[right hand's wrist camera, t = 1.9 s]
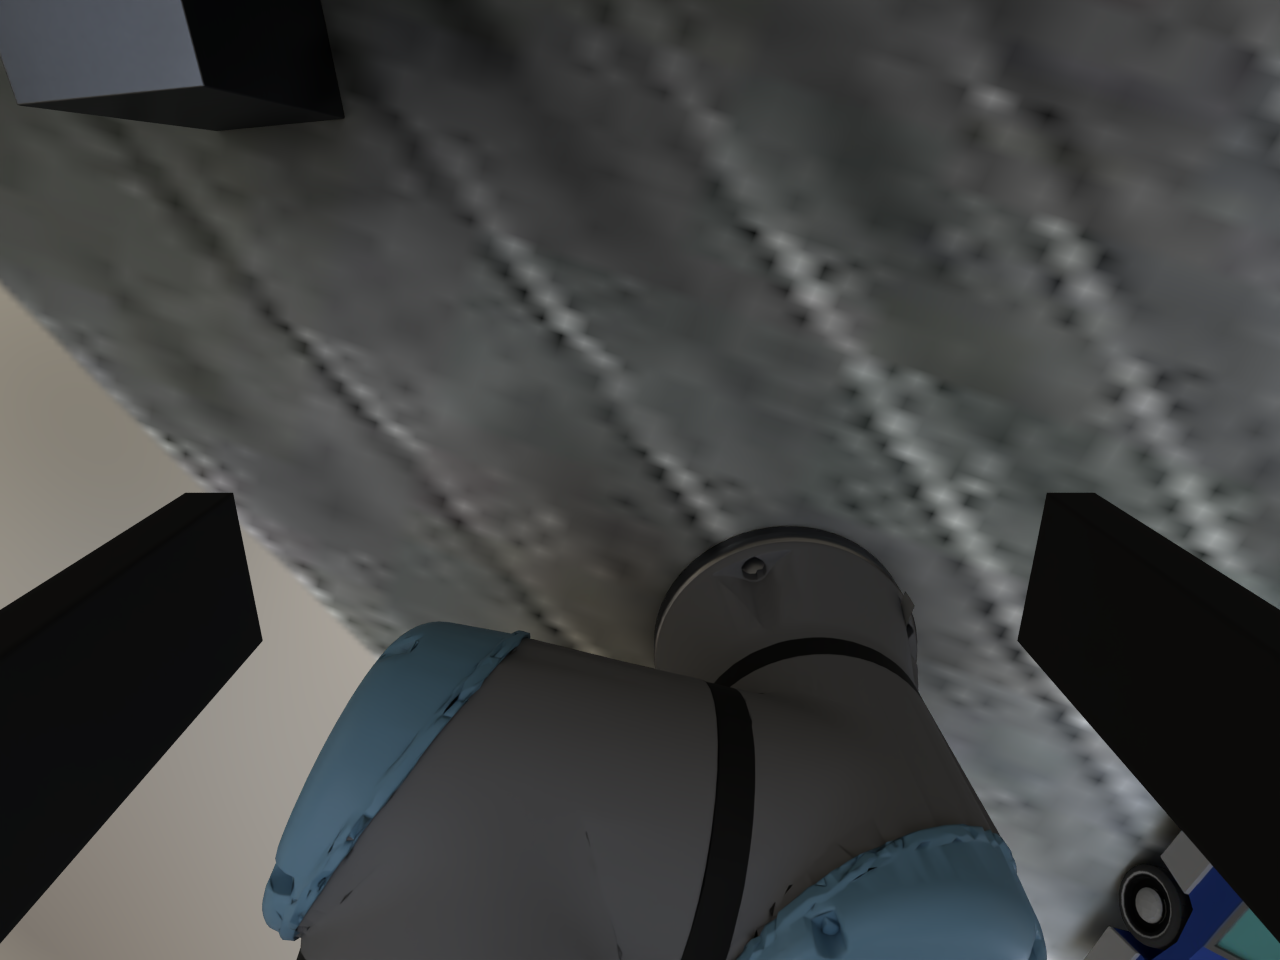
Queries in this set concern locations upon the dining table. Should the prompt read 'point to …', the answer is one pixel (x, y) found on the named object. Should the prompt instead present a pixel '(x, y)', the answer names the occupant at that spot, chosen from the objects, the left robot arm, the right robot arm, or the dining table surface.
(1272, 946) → the toy car
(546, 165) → the dining table surface
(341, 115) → the box
